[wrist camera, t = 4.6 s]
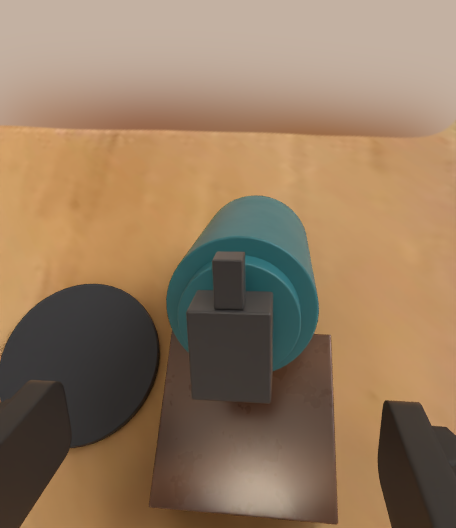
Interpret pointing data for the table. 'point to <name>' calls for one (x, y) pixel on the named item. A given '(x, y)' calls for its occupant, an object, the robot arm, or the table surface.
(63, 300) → the coaster
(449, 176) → the table surface
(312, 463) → the walnut block
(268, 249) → the spray bottle
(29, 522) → the table surface
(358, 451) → the table surface
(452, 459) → the robot arm
